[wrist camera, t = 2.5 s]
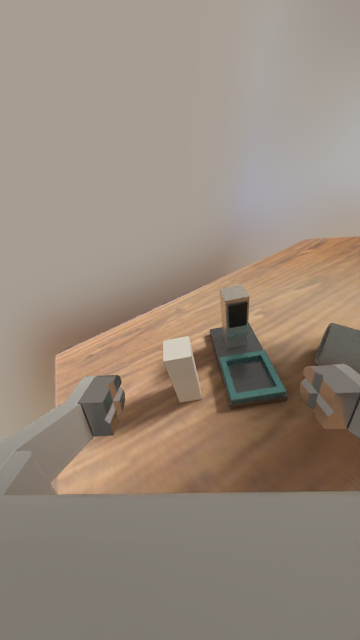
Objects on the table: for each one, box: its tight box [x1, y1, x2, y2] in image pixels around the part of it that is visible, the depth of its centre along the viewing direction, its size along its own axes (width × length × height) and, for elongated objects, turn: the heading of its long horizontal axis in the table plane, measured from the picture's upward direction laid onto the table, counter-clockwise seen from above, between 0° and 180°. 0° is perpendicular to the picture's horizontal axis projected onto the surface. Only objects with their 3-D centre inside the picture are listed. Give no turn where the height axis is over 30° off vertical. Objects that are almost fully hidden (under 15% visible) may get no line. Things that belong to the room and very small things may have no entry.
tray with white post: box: [210, 285, 288, 409], centre depth 34 cm, size 18×9×14 cm, turn 4°
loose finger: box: [163, 336, 202, 403], centre depth 32 cm, size 4×4×12 cm
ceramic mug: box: [315, 323, 360, 374], centre depth 32 cm, size 11×8×8 cm
